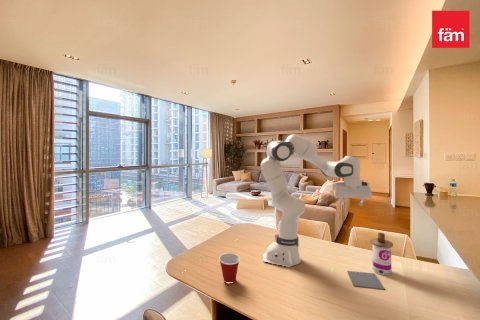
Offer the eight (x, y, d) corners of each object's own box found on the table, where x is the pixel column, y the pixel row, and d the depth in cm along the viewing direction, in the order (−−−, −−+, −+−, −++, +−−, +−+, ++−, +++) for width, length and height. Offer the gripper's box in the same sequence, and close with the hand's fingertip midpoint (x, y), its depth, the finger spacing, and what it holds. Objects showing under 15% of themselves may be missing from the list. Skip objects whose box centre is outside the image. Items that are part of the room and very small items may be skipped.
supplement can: (394, 276, 109) (394, 247, 108) (376, 275, 110) (376, 246, 110) (386, 268, 117) (386, 240, 116) (370, 267, 118) (369, 240, 118)
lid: (374, 246, 109) (374, 236, 109) (367, 239, 119) (367, 229, 119) (396, 248, 107) (396, 238, 107) (388, 240, 117) (387, 230, 117)
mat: (353, 286, 102) (353, 285, 102) (347, 271, 114) (347, 270, 114) (385, 289, 99) (385, 288, 99) (374, 274, 111) (374, 273, 111)
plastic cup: (235, 289, 101) (234, 264, 101) (215, 284, 106) (214, 260, 106) (244, 277, 111) (243, 254, 111) (225, 273, 116) (225, 251, 115)
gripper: (334, 183, 130) (334, 205, 130) (372, 183, 125) (372, 207, 125) (332, 181, 136) (332, 203, 136) (368, 181, 131) (369, 204, 131)
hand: (352, 205), depth 131 cm, fingers open, 8 cm apart
